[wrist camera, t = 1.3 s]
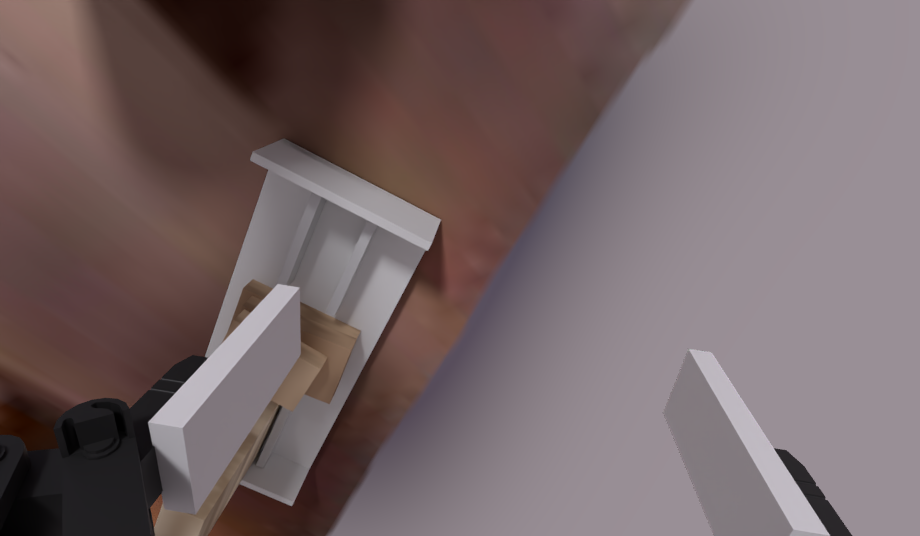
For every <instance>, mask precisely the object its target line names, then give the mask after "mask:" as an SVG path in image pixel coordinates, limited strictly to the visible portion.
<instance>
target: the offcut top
mask: <svg viewBox="0 0 920 536" xmlns="http://www.w3.org/2000/svg"><path fill="white" fill-rule="evenodd" d="M249 314H250V312H248V311H247V310H245V309H244V310H243V311H242V312H241V313H240V314H239V315H238V316H237V317H236V318H235V319H234V320H233V322H232V324H231V326H230V328H229V330H228V332H227V334H226V336H225V338H224V339H223V341H222V343H223V342H224V341H225V340H226V339H227V338H228V336H229V335H230V334H231V333H232V332H233V331H234V330H235V329H236V328H237V327H238V326H239V325H240V324H241V323H242V322H243V320H244V319H245V318H246V317H247V316H248V315H249ZM222 343H221V344H222ZM327 358H328V357H327V356H325V355H323V354H322V353H320V352H318V351H316V350H315V349H313V348H311V347H310V346H308V345H306V344H304V343H303V342H301V355H300V356H299V358H298V359H297V361H296V362H295V364H294V365H293V367H292V369H291V370H290V372H289V373H288V375H287V376H286V378H285V379H284V381H283V382H282V384H281V385H280V387H279V388H278V390H277V391H276V393H275V394H274V396H273V397H272V399H271V400H272V401H273V402H275V403H277V404H279V405H281V406H283V407H284V408H286V409H288V410H290V411H292V412H293V411H294V409H295V408H296V406H297V404H298V403H299V401H300V400H301V398H302V397H303V395H304V394H305V392H306V391H307V389H308V388H309V386H310V385H311V383H312V382H313V380H314V379H315V377H316V376H317V374H318V373H319V371H320V370H321V368H322V366H323V364H324V363H325V361H326V359H327Z"/></svg>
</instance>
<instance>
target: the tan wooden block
mask: <svg viewBox="0 0 920 536" xmlns="http://www.w3.org/2000/svg"><path fill="white" fill-rule="evenodd" d="M280 407H281V405H279V404H277V403H275V402H273V401H272V400H271V401H270V402H269V404H268V405H267V407H266V408H265V410H264V411H263V413H262V414H261V416H260V417H259V419H258V420H257V422H256V423H255V425H254V426H253V428H252V429H251V431H250V433H249V434H248V436H247V437H246V439H245V440H244V442H243V443H242V445H241V446H240V448H239V449H238V451H237V452H236V454H235V455H234V457H233V458H232V460H231V461H230V463H229V465H228V466H227V468H226V469H225V471H224V472H223V474H222V475H221V477H220V478H219V480H218V481H217V483H216V484H215V486H214V487H213V489H212V490H211V492H210V493H209V495H208V497H207V498H206V500H205V501H204V503H203V504H202V506H201V507H200V509H199V510H198V512H197V513H196V515H195V514H189V513H183V512H177V511H171V510H165V509H164V504H162V507H161V510H160V513H159V516H158V519H157V522H156V524H155V527H154V532H155V536H208V534H209V533H210V531H211V529H212V528H213V526H214V524H215V523H216V521H217V520H218V518H219V516H220V515H221V513H222V511H223V510H224V508H225V507H226V505H227V503H228V502H229V500H230V498H231V497H232V495H233V493H234V492H235V490H236V489H237V487H238V485H239V484H240V482H241V480H242V479H243V477H244V476H245V474H246V472H247V471H248V469H249V467H250V466H251V464H252V462H253V461H254V459H255V458H256V456H257V454H258V453H259V451H260V449H261V448H262V446H263V445H264V442H265V440H266V438H267V436H268V434H269V431H270V429H271V427H272V425H273V423H274V420H275V418H276V416H277V414H278V412H279V409H280Z"/></svg>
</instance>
